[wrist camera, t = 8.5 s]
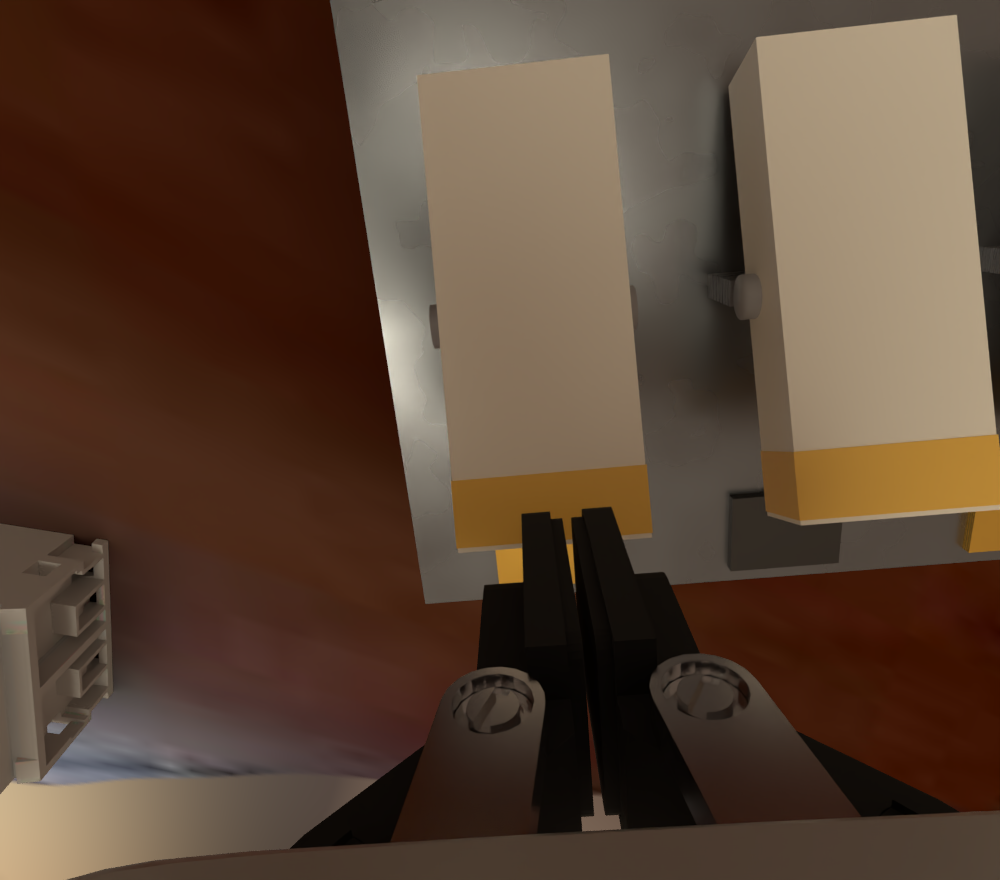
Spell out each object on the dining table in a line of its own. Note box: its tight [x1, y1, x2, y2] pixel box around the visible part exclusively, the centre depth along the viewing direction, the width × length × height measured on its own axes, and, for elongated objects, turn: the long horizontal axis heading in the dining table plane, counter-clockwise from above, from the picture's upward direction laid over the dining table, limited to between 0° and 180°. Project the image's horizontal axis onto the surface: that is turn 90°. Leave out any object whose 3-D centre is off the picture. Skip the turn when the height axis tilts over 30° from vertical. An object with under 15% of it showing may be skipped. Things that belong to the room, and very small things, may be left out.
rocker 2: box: [728, 15, 1000, 526], centre depth 14 cm, size 10×5×2 cm, turn 6°
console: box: [330, 0, 1000, 604], centre depth 18 cm, size 18×22×7 cm
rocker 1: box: [417, 54, 653, 553], centre depth 14 cm, size 10×5×2 cm, turn 6°
